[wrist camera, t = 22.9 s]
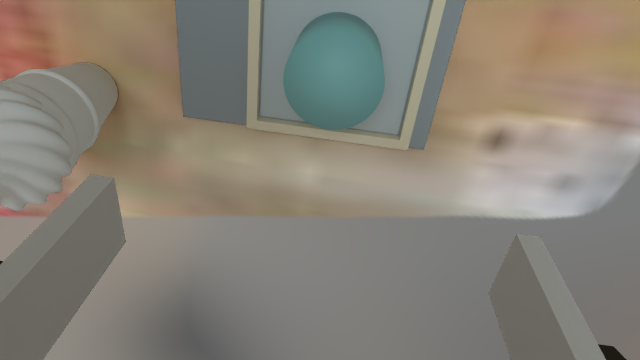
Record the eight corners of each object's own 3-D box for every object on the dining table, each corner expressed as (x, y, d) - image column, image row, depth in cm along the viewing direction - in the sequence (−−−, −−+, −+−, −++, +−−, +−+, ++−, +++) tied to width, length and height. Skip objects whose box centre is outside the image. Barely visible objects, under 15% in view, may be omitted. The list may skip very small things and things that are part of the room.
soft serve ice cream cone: (46, 115, 38) (-129, 232, 24) (38, 21, 33) (-181, 100, 20) (140, 142, 38) (21, 270, 25) (145, 54, 34) (3, 151, 20)
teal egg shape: (298, 6, 30) (286, 24, 25) (389, 18, 30) (394, 39, 25) (291, 92, 33) (280, 122, 29) (372, 103, 33) (374, 136, 29)
